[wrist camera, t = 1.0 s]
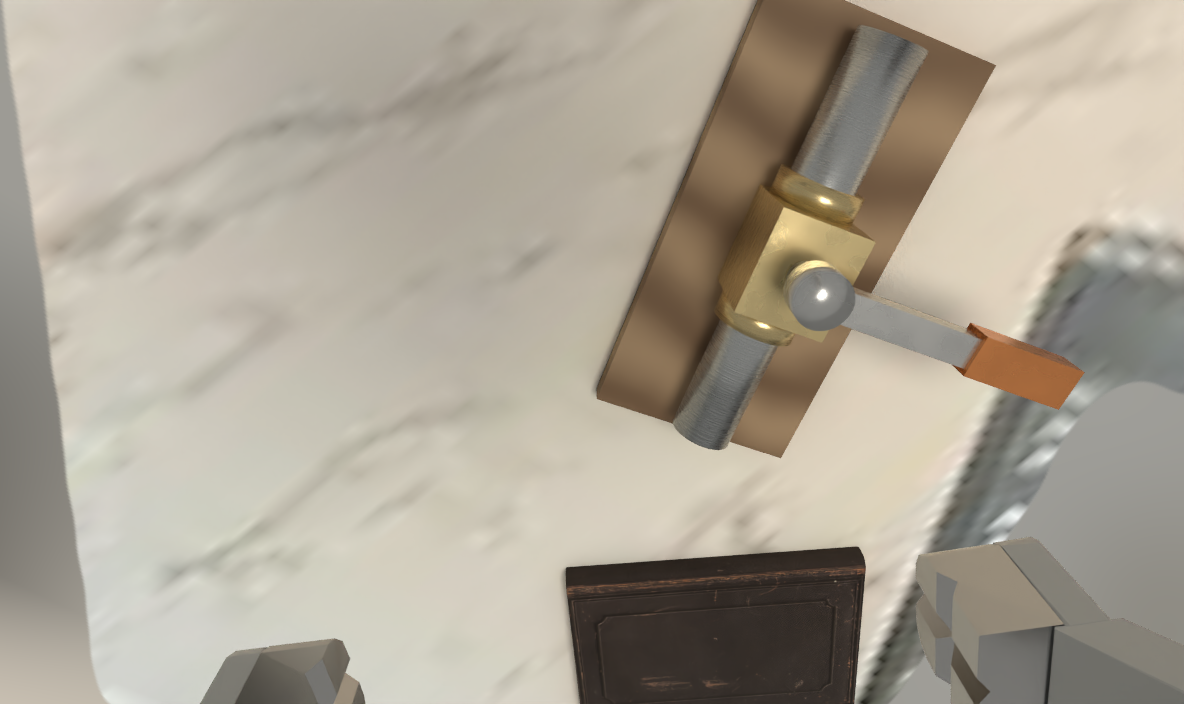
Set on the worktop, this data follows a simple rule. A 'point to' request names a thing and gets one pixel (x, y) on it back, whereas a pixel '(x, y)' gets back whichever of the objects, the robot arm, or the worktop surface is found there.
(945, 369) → the worktop surface
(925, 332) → the valve lever
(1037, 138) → the worktop surface
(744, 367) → the valve body
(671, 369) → the mount board
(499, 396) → the worktop surface
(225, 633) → the worktop surface
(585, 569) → the hardcover book
